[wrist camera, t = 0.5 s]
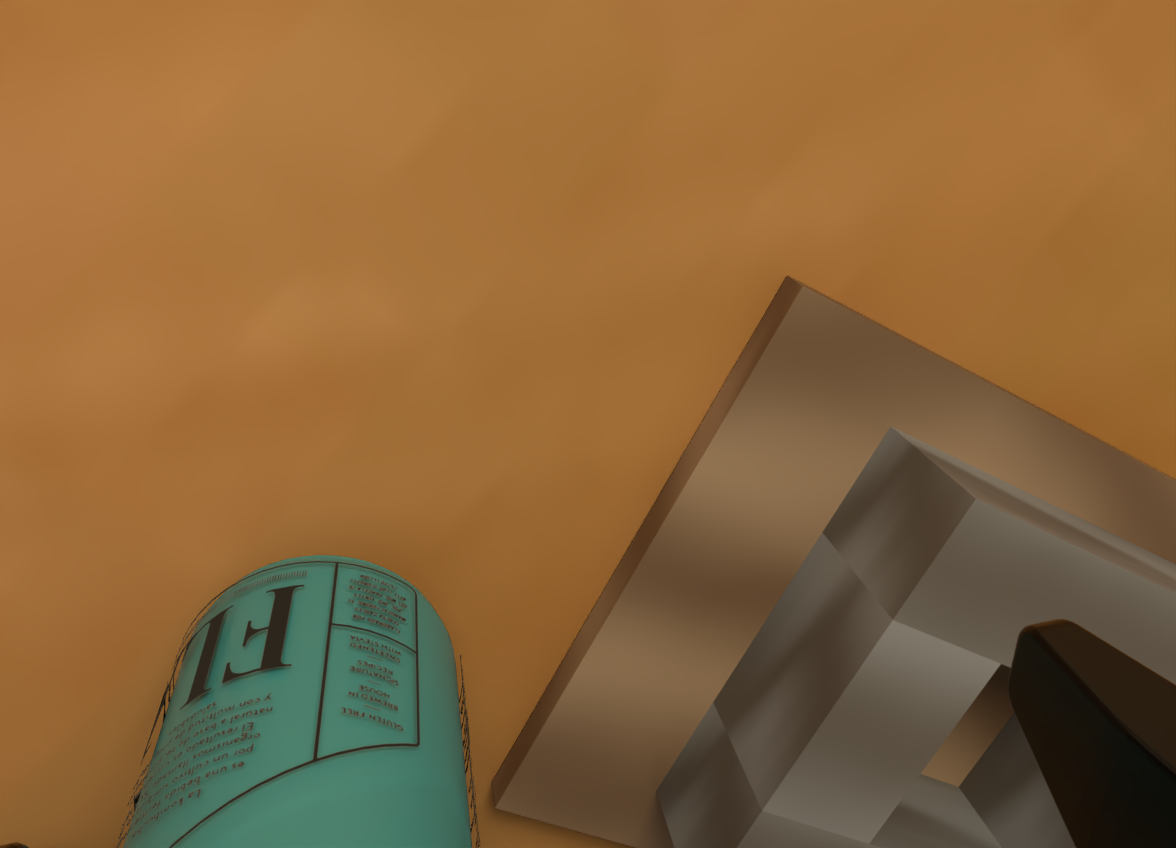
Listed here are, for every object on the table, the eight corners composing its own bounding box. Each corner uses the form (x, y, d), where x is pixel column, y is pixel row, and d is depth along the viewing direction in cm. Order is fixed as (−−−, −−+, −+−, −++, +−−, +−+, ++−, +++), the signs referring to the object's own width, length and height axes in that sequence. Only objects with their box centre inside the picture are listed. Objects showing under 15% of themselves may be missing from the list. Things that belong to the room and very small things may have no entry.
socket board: (1016, 934, 34) (1110, 1075, 30) (491, 782, 28) (509, 933, 23) (1322, 556, 30) (1486, 654, 26) (787, 275, 24) (878, 338, 19)
